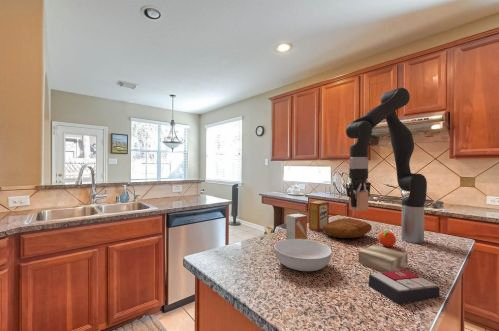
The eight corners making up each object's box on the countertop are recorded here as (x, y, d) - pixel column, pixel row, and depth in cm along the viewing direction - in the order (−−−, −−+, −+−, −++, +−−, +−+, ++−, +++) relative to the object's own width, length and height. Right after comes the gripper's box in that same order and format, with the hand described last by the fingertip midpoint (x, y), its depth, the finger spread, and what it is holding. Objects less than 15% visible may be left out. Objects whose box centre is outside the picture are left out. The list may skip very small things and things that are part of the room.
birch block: (375, 257, 98) (375, 244, 98) (407, 267, 88) (407, 253, 88) (358, 263, 91) (358, 250, 91) (391, 275, 81) (391, 261, 81)
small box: (295, 245, 111) (295, 217, 111) (285, 241, 116) (285, 214, 116) (307, 242, 115) (307, 215, 115) (297, 238, 121) (297, 213, 121)
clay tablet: (346, 229, 138) (346, 216, 138) (375, 237, 123) (375, 222, 123) (319, 235, 126) (319, 220, 126) (347, 245, 112) (347, 227, 112)
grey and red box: (440, 285, 68) (399, 289, 64) (440, 300, 68) (398, 305, 64) (405, 268, 79) (368, 272, 74) (405, 282, 79) (367, 285, 74)
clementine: (391, 250, 104) (391, 234, 104) (375, 246, 110) (375, 231, 110) (398, 246, 110) (398, 231, 110) (381, 242, 115) (381, 228, 115)
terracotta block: (357, 208, 108) (357, 190, 108) (368, 210, 103) (368, 191, 103) (348, 209, 105) (349, 191, 105) (360, 211, 101) (360, 192, 101)
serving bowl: (298, 284, 75) (298, 262, 75) (263, 260, 93) (263, 243, 93) (344, 271, 84) (344, 251, 84) (305, 251, 103) (305, 235, 103)
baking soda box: (318, 231, 134) (318, 203, 134) (309, 229, 139) (309, 201, 139) (328, 228, 140) (328, 201, 140) (319, 226, 145) (319, 200, 145)
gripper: (361, 167, 111) (361, 203, 111) (340, 167, 104) (340, 206, 104) (376, 167, 105) (376, 206, 105) (355, 167, 98) (355, 209, 98)
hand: (358, 206), depth 104 cm, fingers closed on terracotta block, 5 cm apart
